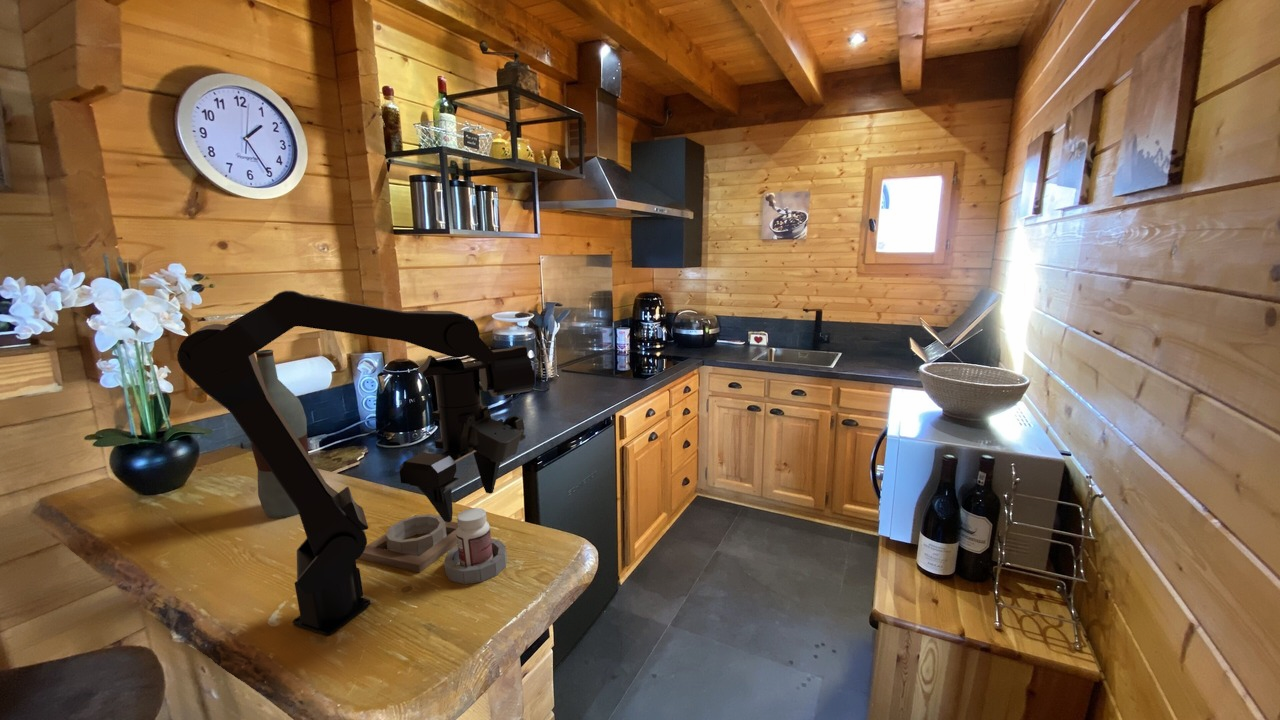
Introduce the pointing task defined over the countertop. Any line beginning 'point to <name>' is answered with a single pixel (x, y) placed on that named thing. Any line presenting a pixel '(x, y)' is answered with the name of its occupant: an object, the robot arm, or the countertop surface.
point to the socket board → (413, 543)
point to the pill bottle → (473, 538)
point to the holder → (476, 572)
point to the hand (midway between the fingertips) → (469, 506)
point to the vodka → (293, 412)
